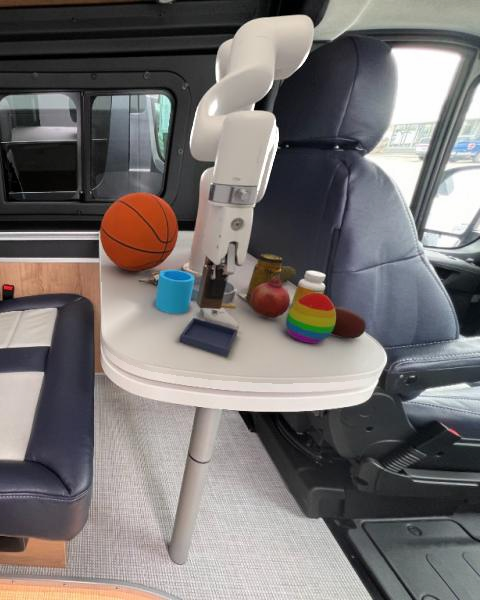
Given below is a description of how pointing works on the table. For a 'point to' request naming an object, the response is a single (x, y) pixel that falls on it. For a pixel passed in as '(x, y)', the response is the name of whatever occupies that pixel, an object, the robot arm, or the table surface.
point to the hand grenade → (286, 273)
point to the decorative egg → (311, 318)
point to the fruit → (270, 299)
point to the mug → (174, 291)
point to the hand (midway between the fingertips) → (210, 294)
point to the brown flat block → (201, 299)
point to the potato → (348, 324)
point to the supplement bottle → (309, 285)
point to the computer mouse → (155, 278)
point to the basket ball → (139, 231)
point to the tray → (209, 337)
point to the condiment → (263, 272)
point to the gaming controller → (219, 317)
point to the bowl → (228, 292)
